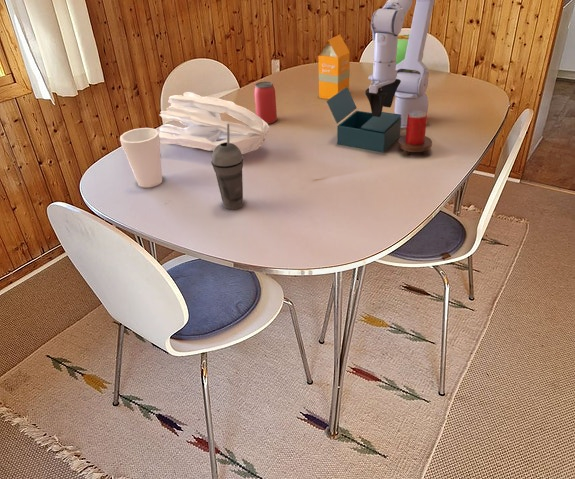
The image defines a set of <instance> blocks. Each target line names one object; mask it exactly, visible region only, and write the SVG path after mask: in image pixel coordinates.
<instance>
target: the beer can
mask: <svg viewBox="0 0 575 479" xmlns="http://www.w3.org/2000/svg"><path fill="white" fill-rule="evenodd" d="M253 93H254V105H255V107H254V108H255V114H256V115H257V116H259V117H260V118H261V119H262V120H264V121H265V122H266V123H267V124H268V125H270V124H274V123H275V122H276V121H277V120H278V114H277V113H278V111H277V98H276V89H275V86H274V83H273V82H271V81H266V80H265V81H259V82H257V83H255V87H254V91H253Z"/></svg>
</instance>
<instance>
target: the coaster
mask: <svg viewBox="0 0 575 479" xmlns="http://www.w3.org/2000/svg"><path fill="white" fill-rule="evenodd" d="M405 140H406V134H405V135H402V136H399V137H398V138H397V146H398V148H399V149H401V150H403V155H404V156H409V153H410V152H411V153H422V154H423V155H427V154H428V151H429V150H430V149H431V148H432V147H433V140H432V139H431V138H430V137H429V136H426V135H425V141H424V143H422V144H419V145H413V144H409V143H407V142H406V141H405Z"/></svg>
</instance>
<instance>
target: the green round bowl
mask: <svg viewBox="0 0 575 479" xmlns="http://www.w3.org/2000/svg"><path fill="white" fill-rule="evenodd" d="M409 35H410V33H409V34H398V43H397V57H396V65H397V64H398V63H400V62H402V61H403V60H404V59H405V55H406V50H407V45H408V40H409ZM422 59H424V55H423V56H422ZM404 72H411V71H409V70H405V71H404Z"/></svg>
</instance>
